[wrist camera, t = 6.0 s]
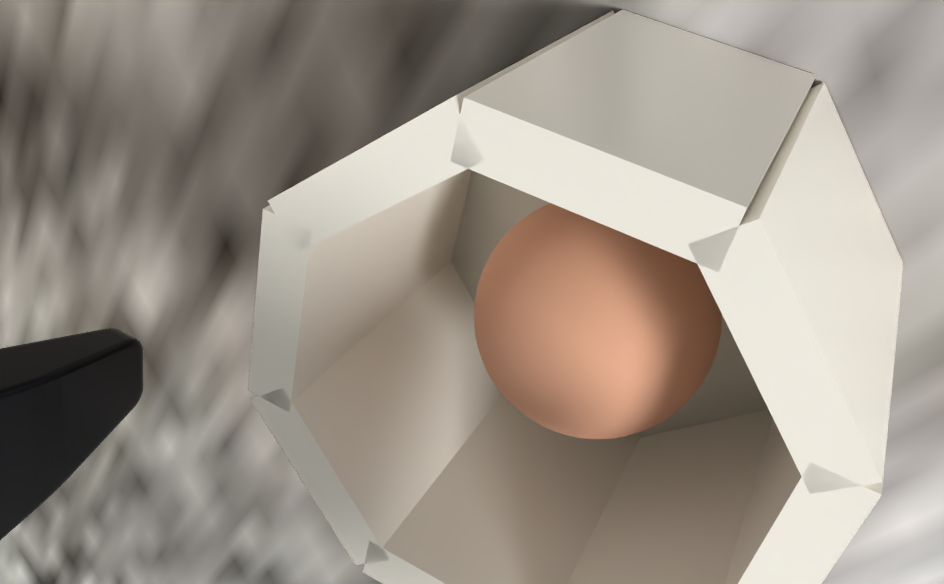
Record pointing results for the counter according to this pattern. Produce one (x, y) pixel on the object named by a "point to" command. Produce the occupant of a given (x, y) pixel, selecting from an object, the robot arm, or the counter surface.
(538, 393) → the ball terracotta
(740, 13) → the counter surface
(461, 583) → the cup
